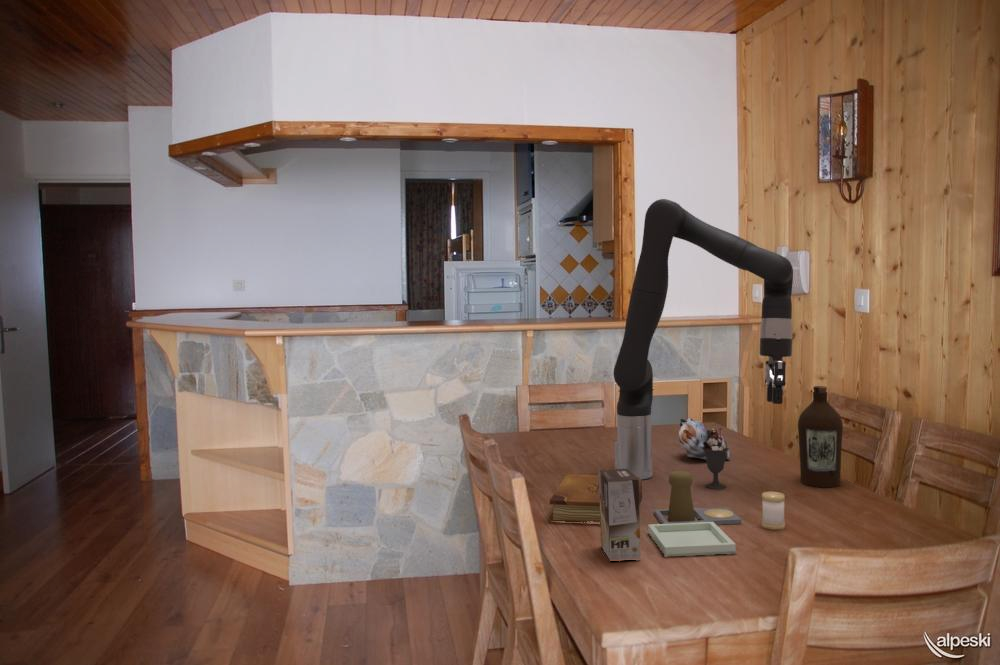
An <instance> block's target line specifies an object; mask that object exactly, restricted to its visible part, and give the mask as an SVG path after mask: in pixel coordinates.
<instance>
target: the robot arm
mask: <svg viewBox="0 0 1000 665" xmlns="http://www.w3.org/2000/svg"><path fill="white" fill-rule="evenodd" d="M642 234H643V236H642V244H641V251H640V255H639V259H638V261H637V262H638V263H637V266H636V271H635V275H634V278H633V283H632V287H631V291H630V296H629V302H628V308H627V314H626V320H625V327H624V335H623V339H622V342H621V346H620V350H619V352H618V354H617V355H618V356H617V357H616V361H615V364H614V368H613V378H614V382H615V384H616V385H617V387H618V388H619V394H618V395H619V396H618V399H617V400H618V401H617V403H616V422H617V423H616V428H617V429H616V431H617V439H616V440H615V441H614V469H629V470H630V471H631V472H632V473H633V474H634V475H635V476H636V477H639V478H640V479H641V480H647V479H651V477H653V443H652V442H653V437H652V436H653V435H652V404H653V398H654V396H653V395H654V393H653V392H654V386H653V385H654V384H653V383H654V381H653V380H654V376H653V373H654V372H653V367H652V364H651V362H650V361H649V359H648V358H649V352H650V347H651V342H652V339H653V337H654V335H655V333H656V330H657V328H658V325H659V323H660V321H661V317H662V315H663V312H664V308H665V304H666V301H667V300H666V299H667V295H668V294H667V293H668V291H669V290H668V288H669V255H670V254H669V253H670V249H671V245H672V242H673V239H674V238H676V239H679V240H683V241H686V242H689V243H690V244H693V245H696V246H697V247H698V248H701V249H703V250H704V251H706V252H708V253H709V254H711V255H712V256H714V257H716V258H718V259H719V260H722V262H725V263H727V264H729V265H731V266H733V267H735V268H737V269H740V270H743V271H747V272H750V273H751V274H752V275H755V276H757V277H759V278H760V279H762V280H763V299H762V304H761V322H760V329H759V330H760V331H759V355H760V356H761V357H768V360H766V361H765V377H764V379H765V380H764V383H765V386H766V401H767V402H768V403H772V404H774V405H782V404H783V395H784V393H783V391H784V390H783V389H784V387H785V386H786V384H787V383H786V365H787V362H786V360H783V358H789V357H790V358H791V357H792V354H793V322H792V320H793V318H792V317H793V316H792V314H793V310H792V309H793V304H792V302H793V301H792V292H793V282H794V268H793V266H792V262H790V260H789V259H788V258H786V257H785V256H783V255H782V254H778V253H776V252H774V251H772V250H768V249H765V248H762V247H760V246H757V245H756V244H754V243H753V242H751V241H748V240H746V239H744V238H742V237H740V236H737V234H736V235H735V234H733V233H731V232H729V231H726V230H724V229H721V228H719V227H716V226H714V225H711V224H709V223H707V222H705V221H703V220H701V219H699V218H698V217H696V216H695V215H693V214H692V213H690V212H689V211H688V210H686V209H685V208H684V207H682V206H681V205H680V204H679V203H677V202H676V201H673V200H670V199H666V198H660V199H657V200H655V201H653V202H652V203H650V205H649V206H648V208H647V210H646V212H645V215H644V226H643V233H642Z"/></svg>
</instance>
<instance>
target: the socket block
mask: <svg viewBox="0 0 1000 665" xmlns="http://www.w3.org/2000/svg"><path fill="white" fill-rule="evenodd" d="M693 509H694V515H695V518H697V519H700V520H695V521H680V522H669V521H668V519H666V518H665V516H668V512H669V508H665V509H663V508H662V509H653V515H654V514H655V515H654V516H655V517H656V519H657V518H658V519H659V520H658V519H657V520H658V521H659V523H660V524H661V523H662V524H672V523H693V522H714V523H715V524H716V525H717V526H721V525H722V524H728V525H742V519H741V518H740V517H739V516H738V515H737V514H736V513H734V512H733V510H731V508H729V507H725V506H724V507H723V506H721V507H704V508H702V507H701V508H700V507H699V508H697V507H693ZM722 526H723V525H722Z"/></svg>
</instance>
